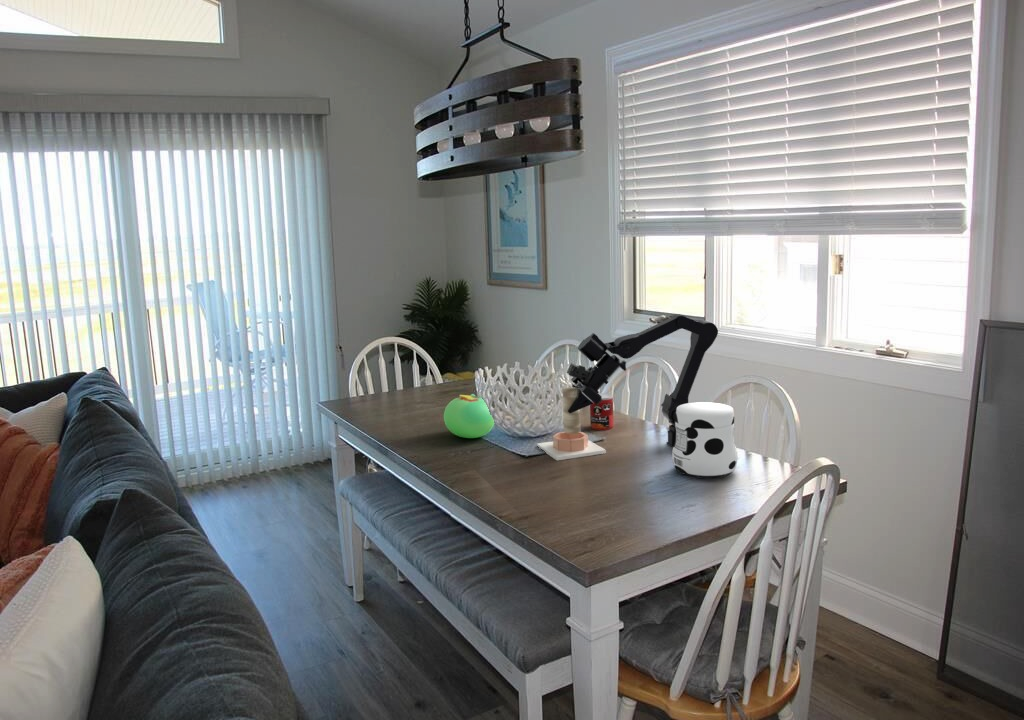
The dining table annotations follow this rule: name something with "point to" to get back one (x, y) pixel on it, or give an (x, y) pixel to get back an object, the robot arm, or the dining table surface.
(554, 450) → the octagonal ring base
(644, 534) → the dining table surface
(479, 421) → the toy bird
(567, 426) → the beech peg
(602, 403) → the canned food
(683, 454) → the milk container
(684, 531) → the dining table surface
